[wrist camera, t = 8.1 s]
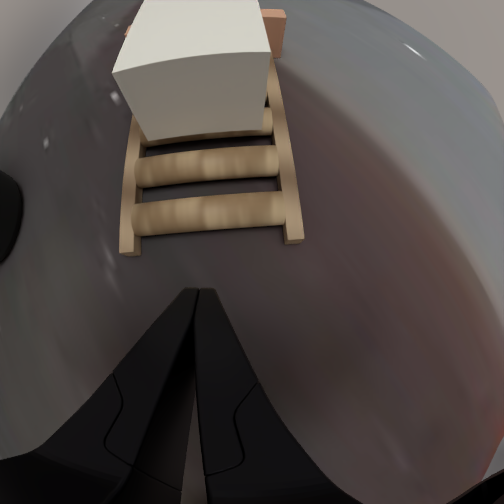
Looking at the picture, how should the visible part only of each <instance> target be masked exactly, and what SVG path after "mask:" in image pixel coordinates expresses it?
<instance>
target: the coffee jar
mask: <svg viewBox="0 0 504 504" xmlns="http://www.w3.org/2000/svg"><path fill="white" fill-rule="evenodd" d="M21 214H22V201H21V197H20V192H19V190H18V186H17V184H16V183H15V181H14V180H13V178H12V177H10V176H9V175H7V174H6V173H4V172H2V171H1V170H0V261H1V260H3V259H4V258H5V256H6V255H7V254H8V253H9V251H10V249H11V247H12V245H13V243H14V241H15V239H16V236H17V232H18V229H19V225H20V220H21Z"/></svg>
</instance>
